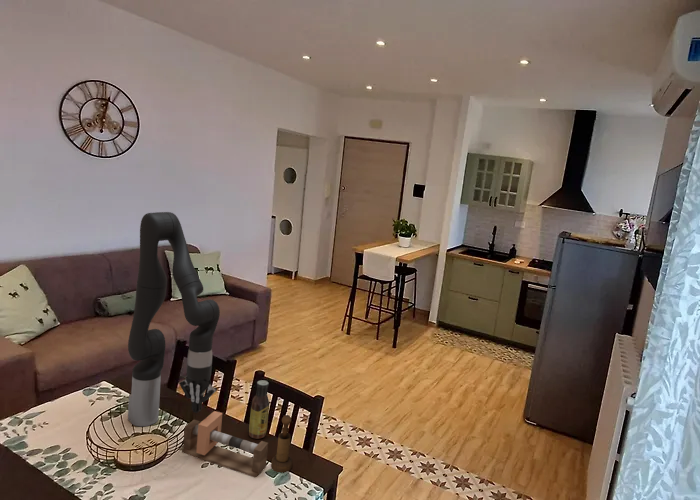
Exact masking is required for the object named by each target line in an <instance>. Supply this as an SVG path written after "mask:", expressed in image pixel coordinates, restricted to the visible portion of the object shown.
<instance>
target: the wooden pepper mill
mask: <svg viewBox="0 0 700 500" xmlns="http://www.w3.org/2000/svg"><path fill="white" fill-rule="evenodd" d="M281 423H282V425H283V427H281V432H280V433H279V434H278V438H277V447H276V454H275V455H274V456H273V457H272V459H271V462H270V468H271V470H272V469H273V470H272V471H274V472H275V471H276V472H275V473H278V472H281V474H285V473H288V472H290V471H291V469H292V466H293V459H292V457H291V456H290V446H291V439H292V437H291V436H292V435H291V433H289V432H290V428H289V426H290V424H291V423H292V417H291V416H290V415H288V414H285V415H283V417H281ZM282 472H283V473H282ZM284 472H285V473H284Z"/></svg>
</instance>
